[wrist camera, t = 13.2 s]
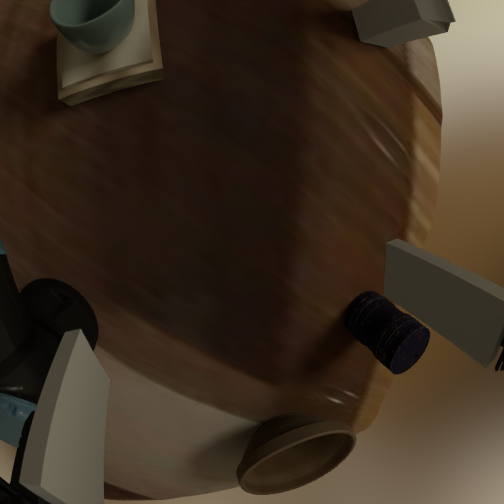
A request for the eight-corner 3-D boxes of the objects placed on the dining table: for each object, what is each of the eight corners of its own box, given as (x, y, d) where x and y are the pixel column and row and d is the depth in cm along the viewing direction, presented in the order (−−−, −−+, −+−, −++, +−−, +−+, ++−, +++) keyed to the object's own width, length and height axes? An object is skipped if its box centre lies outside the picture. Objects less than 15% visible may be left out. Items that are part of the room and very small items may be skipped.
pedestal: (71, 106, 27) (55, 98, 22) (68, 31, 22) (55, 14, 17) (163, 79, 30) (162, 65, 24) (154, 6, 25) (154, -15, 20)
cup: (64, 41, 19) (35, 6, 10) (115, 0, 19) (104, -45, 10) (98, 73, 22) (73, 42, 13) (151, 30, 22) (149, -14, 13)
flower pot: (242, 394, 50) (263, 445, 39) (349, 386, 61) (378, 420, 49) (215, 461, 57) (227, 501, 45) (306, 450, 67) (324, 481, 55)
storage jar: (334, 322, 51) (381, 368, 38) (365, 281, 50) (420, 318, 37) (360, 338, 55) (402, 379, 42) (387, 302, 54) (436, 336, 41)
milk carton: (359, 42, 35) (442, 13, 18) (350, 10, 32) (425, -26, 15) (387, 48, 36) (467, 28, 19) (379, 18, 34) (452, -9, 17)
